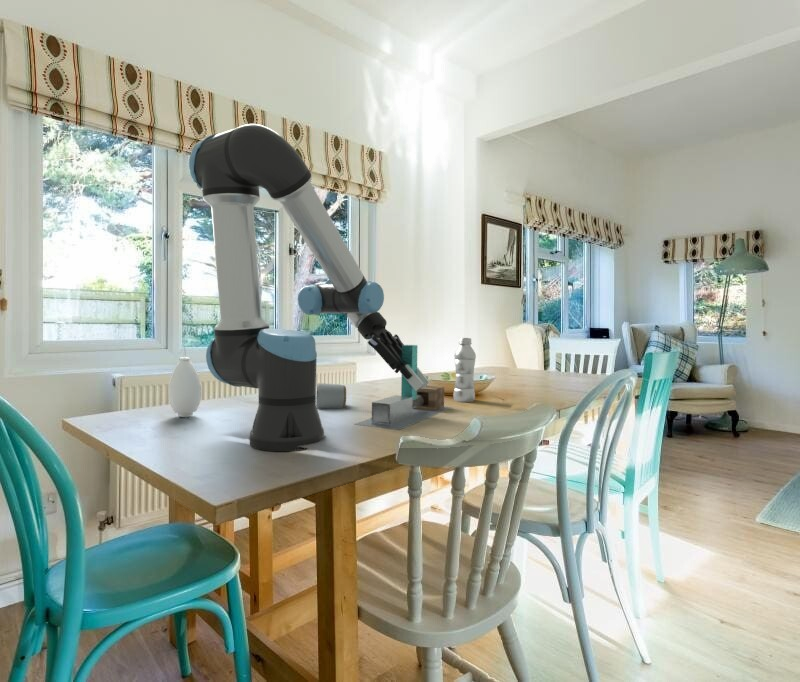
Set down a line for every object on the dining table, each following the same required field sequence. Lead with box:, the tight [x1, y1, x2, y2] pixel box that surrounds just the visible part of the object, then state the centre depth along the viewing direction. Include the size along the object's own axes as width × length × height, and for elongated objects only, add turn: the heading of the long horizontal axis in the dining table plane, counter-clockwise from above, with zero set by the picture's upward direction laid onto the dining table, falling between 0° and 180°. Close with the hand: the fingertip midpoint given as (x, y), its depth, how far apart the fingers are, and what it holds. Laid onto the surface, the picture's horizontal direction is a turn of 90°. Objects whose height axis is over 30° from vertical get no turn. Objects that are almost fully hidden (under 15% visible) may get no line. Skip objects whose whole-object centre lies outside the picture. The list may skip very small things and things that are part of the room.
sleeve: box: [371, 394, 412, 426], centre depth 124 cm, size 12×5×5 cm, turn 153°
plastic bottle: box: [452, 337, 477, 403], centre depth 154 cm, size 6×7×20 cm
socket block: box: [413, 384, 445, 411], centre depth 142 cm, size 6×8×6 cm
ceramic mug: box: [316, 382, 347, 410], centre depth 144 cm, size 11×8×8 cm
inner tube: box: [400, 344, 424, 409], centre depth 130 cm, size 17×3×17 cm, turn 153°
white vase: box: [168, 347, 202, 418], centre depth 131 cm, size 8×8×18 cm
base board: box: [354, 406, 452, 431], centre depth 131 cm, size 32×12×1 cm, turn 153°
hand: (422, 386), depth 130 cm, fingers closed on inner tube, 3 cm apart
